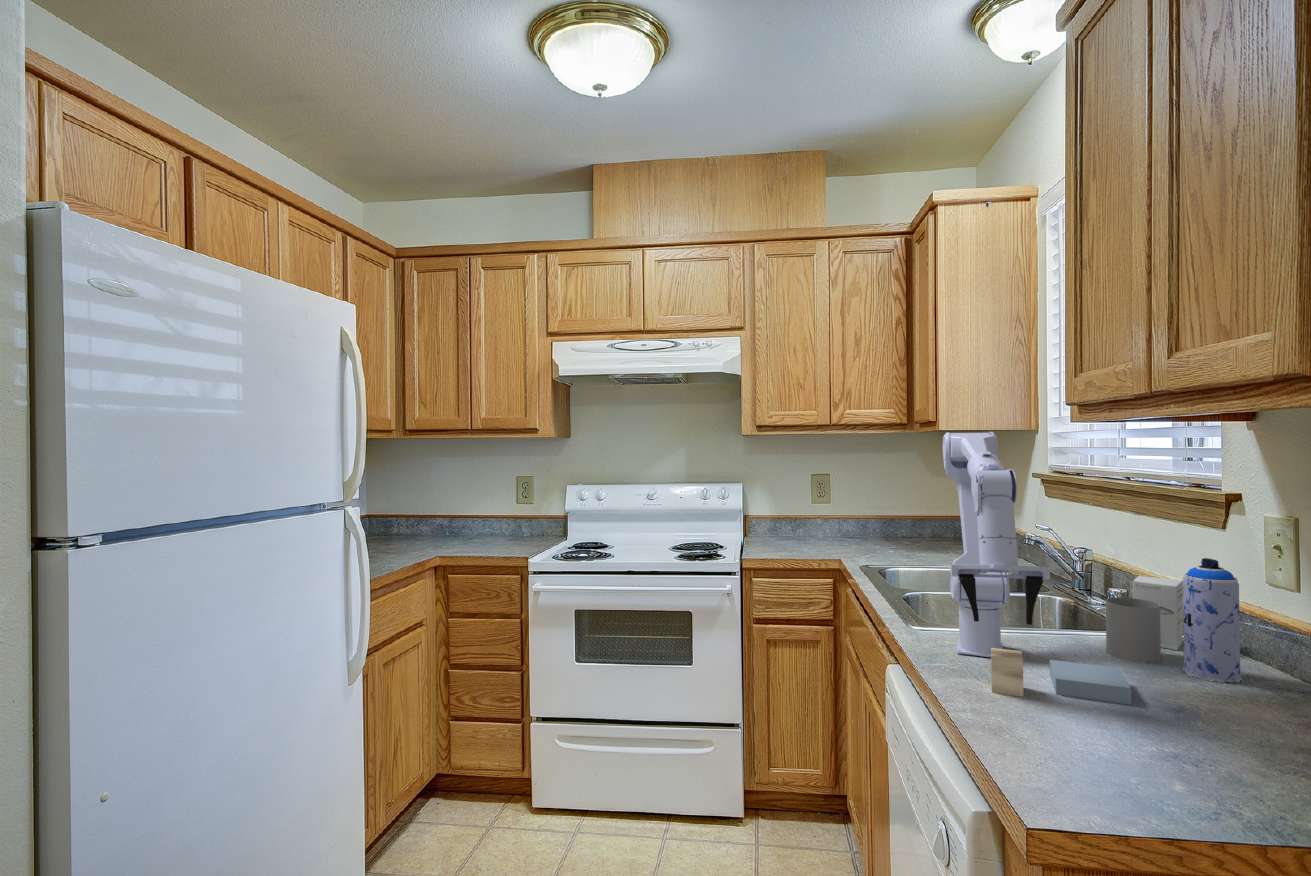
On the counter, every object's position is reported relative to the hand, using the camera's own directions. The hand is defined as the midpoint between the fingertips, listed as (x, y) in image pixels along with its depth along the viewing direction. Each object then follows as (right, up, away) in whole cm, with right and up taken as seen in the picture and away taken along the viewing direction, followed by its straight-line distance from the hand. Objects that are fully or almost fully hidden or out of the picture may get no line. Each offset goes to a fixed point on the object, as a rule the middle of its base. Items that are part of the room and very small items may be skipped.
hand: (1002, 623), depth 109 cm
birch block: (+1, -11, 0) cm, 11 cm away
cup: (+33, -11, +17) cm, 39 cm away
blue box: (+14, -11, 0) cm, 18 cm away
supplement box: (+44, -11, +24) cm, 51 cm away
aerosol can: (+39, -11, +6) cm, 41 cm away
